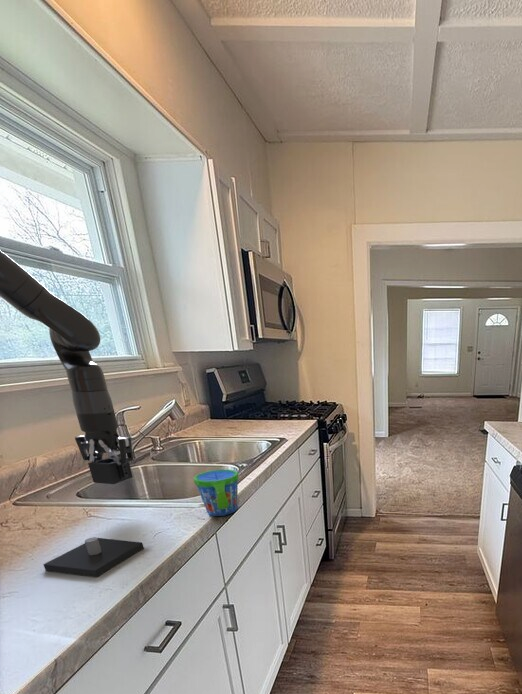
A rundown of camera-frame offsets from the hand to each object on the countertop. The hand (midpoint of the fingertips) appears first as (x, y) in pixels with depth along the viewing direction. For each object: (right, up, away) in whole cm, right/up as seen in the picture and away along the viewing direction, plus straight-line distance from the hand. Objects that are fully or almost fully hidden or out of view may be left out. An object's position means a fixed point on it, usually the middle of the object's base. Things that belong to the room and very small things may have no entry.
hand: (113, 477), depth 101 cm
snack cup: (+26, -9, +4) cm, 28 cm away
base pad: (+10, -18, -19) cm, 28 cm away
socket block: (0, -1, 0) cm, 1 cm away
